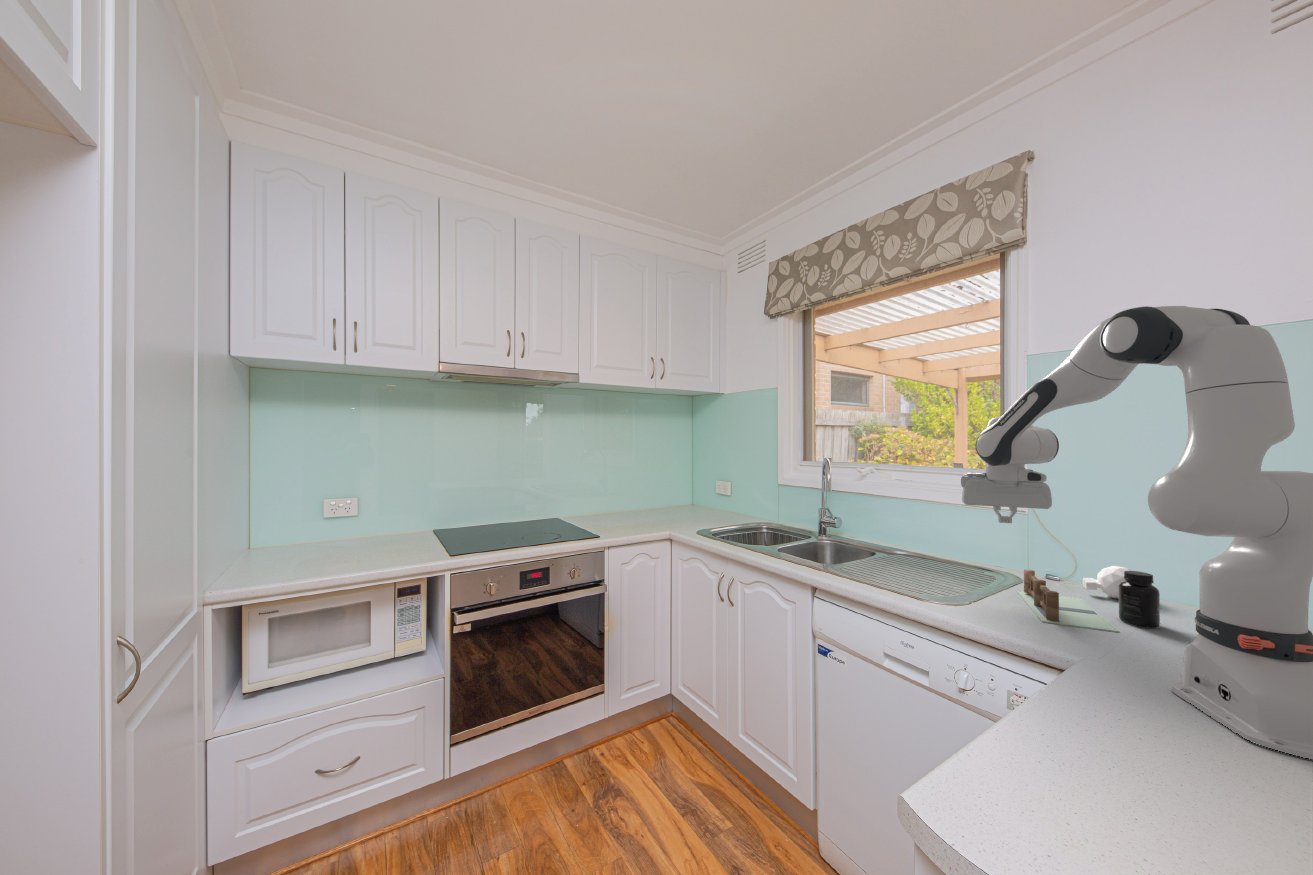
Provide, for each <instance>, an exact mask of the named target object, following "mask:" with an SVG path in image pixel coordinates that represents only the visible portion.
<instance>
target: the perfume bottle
mask: <svg viewBox="0 0 1313 875" xmlns="http://www.w3.org/2000/svg"><path fill="white" fill-rule="evenodd" d="M1125 571H1132V570H1130V569H1129V568H1127V567H1124V566H1118V565H1111V566H1108V567H1104V568H1102V569H1101V570H1100V571H1099V572H1098V573H1097V574H1096V575H1097V577H1096V578H1097V579H1095V578H1094V577H1082V587H1084V588H1085V590H1088V591H1089V590H1095V591H1096V590H1097V591H1098V589H1100V590H1101V592H1102V593H1104V594H1105V595H1107V596H1108V597H1110V598H1111V599H1117V600H1119V584H1120V583H1121V582H1124V581H1125V579H1124V572H1125Z"/></svg>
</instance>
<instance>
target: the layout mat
mask: <svg viewBox="0 0 1313 875" xmlns="http://www.w3.org/2000/svg"><path fill="white" fill-rule="evenodd" d="M1016 593H1017V595H1018V596H1019V597H1020V598H1021V599H1022V601H1023V602H1024V603H1025V604H1026V605H1027V606H1028V607H1029V609H1030V610H1031V611H1032V612H1033V613H1034V615H1035V616H1036V617H1037V618H1038V620H1039V621H1040V622H1041V623H1045V624H1047V623H1048V624H1051V625H1052V624H1054V625H1061V626H1069V627H1076V628H1083V629H1089V630H1090V629H1092V630H1098V631H1105V632H1113V633H1120V632H1121V631H1120V630H1119V629H1117V628H1116V627H1115V626H1114V625H1113V624H1112V623H1111V622H1109V621H1108V620H1106V619H1105V618H1104V617H1103V616H1102V615H1101V614H1099V613H1098V612H1097V611H1096V610H1095V609H1094V608H1092V607H1091V606H1090V605H1089V604H1088V603H1086V602H1085V601H1084V600H1083V599H1081V597H1072V596H1066V595H1065V596H1064V595H1059V621H1057V622H1054V621H1050V620H1048V619H1046V610H1045V609H1043V607H1038V606H1035V605H1034V598H1033V596H1032V595H1030V594H1028V593H1025V592H1024V591H1022V590H1021V591H1018V590H1016Z"/></svg>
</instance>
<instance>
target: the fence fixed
mask: <svg viewBox="0 0 1313 875" xmlns="http://www.w3.org/2000/svg"><path fill="white" fill-rule="evenodd" d="M1059 594H1060V593H1059V592H1058V591H1054V590H1050V589H1049V587H1047V581H1046V580H1044V579H1039V578H1037V579H1034V605H1035V606H1038V607H1043V609H1045V610H1046V619H1048V620H1050V621H1054V622H1057V621H1059V596H1060V595H1059Z"/></svg>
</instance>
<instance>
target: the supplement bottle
mask: <svg viewBox="0 0 1313 875" xmlns="http://www.w3.org/2000/svg"><path fill="white" fill-rule="evenodd" d="M1124 579H1125V581H1124V582H1121V583H1120V584H1119V599H1118V618H1119V620H1120V621H1122V622H1123V623H1125V624H1128V625H1129V626H1130V625H1131V626H1134V627H1138V628H1139V627H1140V628H1146V629H1157V628H1159V627H1160V625H1161V623H1160V622H1161V616H1160V615H1161V613H1160V612H1161V609H1160V608H1161V605H1160V603H1161V602H1160V601H1161V598H1160V590H1159V589H1158V588H1157V587H1156V586H1155V585H1153V584H1154V575H1153V574H1152V573H1148V572H1144V571H1136V570H1131V571H1125V572H1124Z"/></svg>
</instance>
